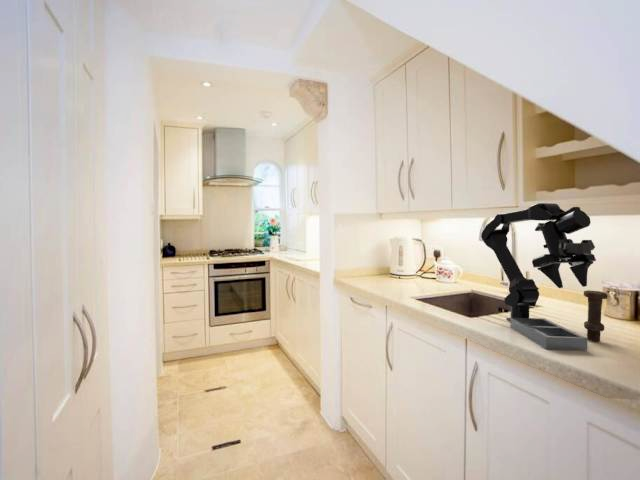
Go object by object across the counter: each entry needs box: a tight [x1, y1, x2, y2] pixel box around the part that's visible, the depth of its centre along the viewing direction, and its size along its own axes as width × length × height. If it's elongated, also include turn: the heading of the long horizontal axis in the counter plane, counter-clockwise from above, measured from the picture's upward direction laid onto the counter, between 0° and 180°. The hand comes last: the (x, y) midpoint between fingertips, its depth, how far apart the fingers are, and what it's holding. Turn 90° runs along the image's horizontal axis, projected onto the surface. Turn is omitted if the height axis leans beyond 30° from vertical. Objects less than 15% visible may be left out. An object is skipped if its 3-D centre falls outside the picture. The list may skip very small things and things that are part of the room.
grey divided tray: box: [510, 317, 589, 352], centre depth 101 cm, size 20×11×4 cm, turn 175°
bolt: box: [583, 289, 608, 343], centre depth 99 cm, size 6×5×15 cm
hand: (573, 287), depth 99 cm, fingers open, 9 cm apart
